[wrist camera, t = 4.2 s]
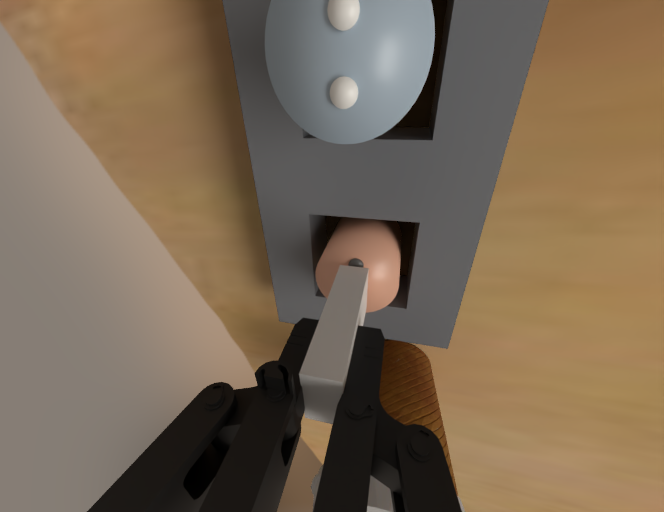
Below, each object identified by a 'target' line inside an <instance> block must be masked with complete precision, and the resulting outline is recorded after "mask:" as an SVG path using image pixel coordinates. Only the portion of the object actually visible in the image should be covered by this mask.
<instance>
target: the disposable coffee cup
mask: <svg viewBox="0 0 664 512" xmlns="http://www.w3.org/2000/svg"><path fill="white" fill-rule="evenodd" d="M379 398H380V402H381V405H382V407H383V408H384V410H385V411H386V412H387V413H388V414H389V415H390V416H391V417H393V418H394V419H396V420H397V421H399V422H401V423H402V424H404V425H406V426H407V425H411V424H418V425H423V426H425V427H426V428H428V429H430V430H431V431H432V432H433V433H434V434H435V435H436V436H437V437H438V439H439V441H440V443H441V445H442V447H443V451H444V454H445V457H446V461H447V464H448V467H449V470H450V474H451V477H452V480H453V484H454V487H455V490H456V494H457V497H458V493H457V488H456V483H455V479H454V474H453V469H452V465H451V459H450V455H449V451H448V445H447V441H446V436H445V431H444V427H443V423H442V422H443V421H442V417H441V412H440V408H439V403H438V399H437V393H436V389H435V384H434V379H433V374H432V369H431V364H430V361H429V359H428V357H427V356H426V355H425V353H424V352H422V351H421V350H420V349H419V348H417V347H415V346H413V345H411V344H409V343H406V342H402V341H397V340H385V342H384V351H383V361H382V371H381V380H380V390H379ZM323 465H324V464H323ZM323 465H322V466H321V468H320V469H319V473H318V474H317V475H315V477H314V479H313V481H312V485H311V489H312V493H313V494H314V503H313V509H314V504H315V500H316V496H317V491H318V487H319V483H320V478H321V474H322V469H323ZM458 500H459V504H460V507H461V510H462V512H465V511H464V507H463V505H462V502H461V500H460V498H459V497H458ZM367 512H393V505H392V498H391V491H390V489H389V488H388V487H387V486H385V485H384V484H382V483H381V482H380V481H378V480H377V479H375V478H374V477H373V476H371V477H370V486H369V496H368V505H367Z"/></svg>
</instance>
